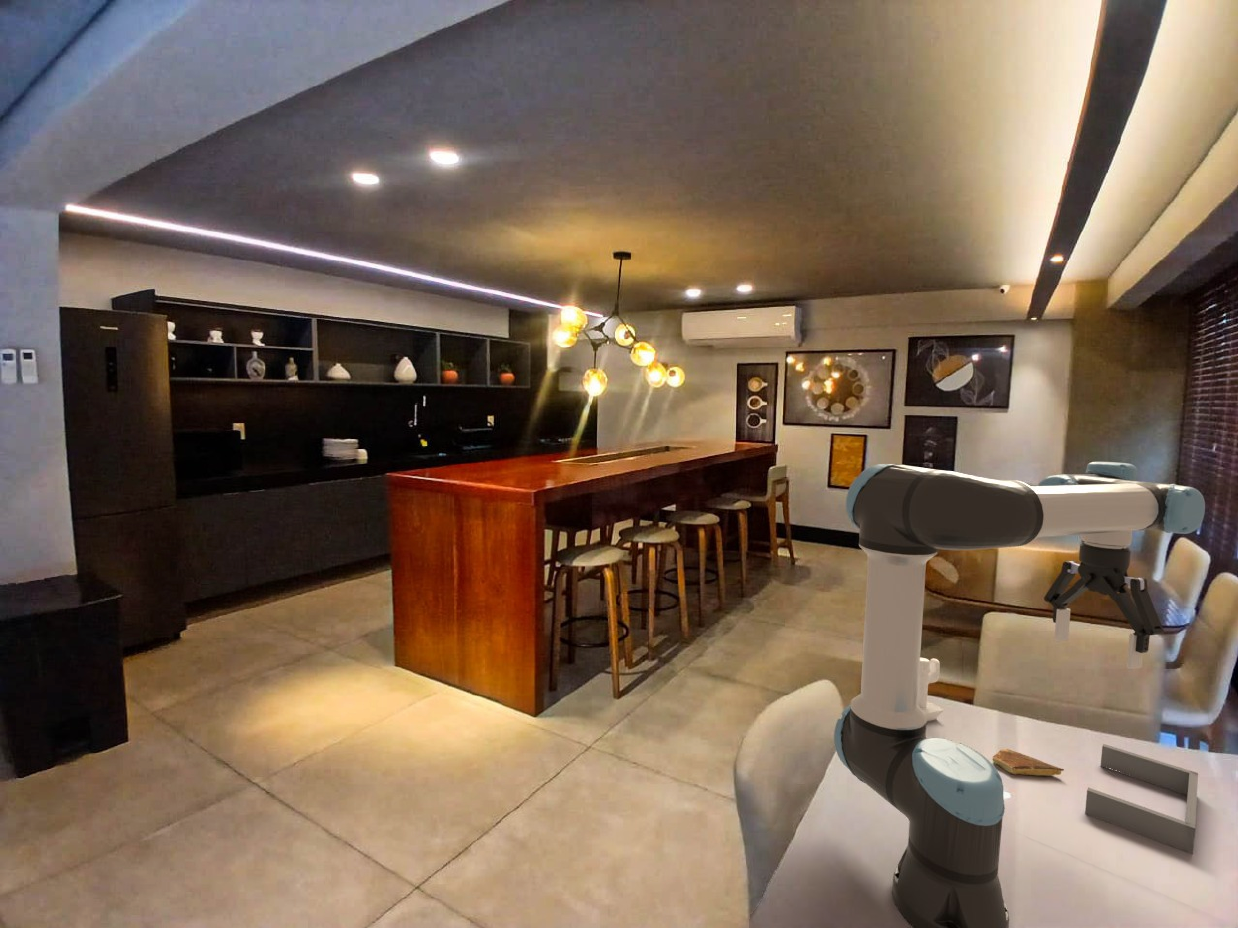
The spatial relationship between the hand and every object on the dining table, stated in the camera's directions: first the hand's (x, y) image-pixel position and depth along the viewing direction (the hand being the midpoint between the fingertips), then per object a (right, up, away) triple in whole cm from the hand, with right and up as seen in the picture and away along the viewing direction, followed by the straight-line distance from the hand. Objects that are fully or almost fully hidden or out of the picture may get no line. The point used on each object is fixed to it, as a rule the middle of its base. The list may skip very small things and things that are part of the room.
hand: (1095, 653), depth 118 cm
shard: (-3, -28, +10) cm, 30 cm away
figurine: (-20, -25, +29) cm, 43 cm away
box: (+8, -28, -2) cm, 29 cm away
